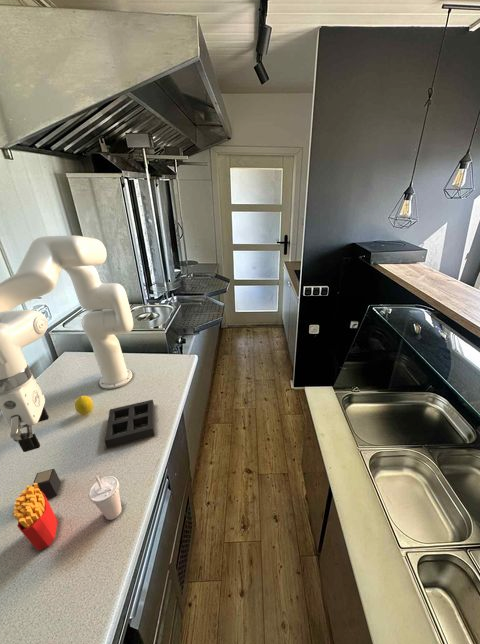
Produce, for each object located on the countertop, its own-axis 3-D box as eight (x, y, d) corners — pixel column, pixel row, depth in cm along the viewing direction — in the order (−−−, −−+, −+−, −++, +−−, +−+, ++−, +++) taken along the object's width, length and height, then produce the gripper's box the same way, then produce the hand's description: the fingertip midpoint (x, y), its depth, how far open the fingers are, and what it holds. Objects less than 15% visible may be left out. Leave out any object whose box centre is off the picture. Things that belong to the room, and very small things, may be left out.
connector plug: (44, 486, 79) (36, 472, 77) (61, 482, 80) (53, 467, 78) (39, 500, 76) (31, 486, 73) (57, 495, 77) (49, 481, 74)
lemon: (88, 420, 101) (81, 403, 98) (75, 418, 102) (67, 401, 99) (99, 409, 106) (93, 392, 102) (86, 407, 107) (80, 390, 103)
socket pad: (112, 416, 102) (109, 409, 101) (154, 406, 107) (152, 399, 105) (106, 448, 90) (104, 440, 89) (154, 436, 94) (152, 428, 93)
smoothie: (107, 499, 76) (93, 463, 70) (131, 499, 76) (119, 464, 69) (94, 525, 70) (77, 489, 64) (119, 526, 70) (105, 490, 64)
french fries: (53, 548, 66) (32, 514, 60) (31, 557, 64) (7, 524, 59) (59, 510, 73) (41, 477, 68) (40, 518, 72) (19, 485, 66)
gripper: (19, 396, 57) (48, 455, 65) (39, 354, 72) (61, 406, 79) (-29, 408, 54) (7, 468, 62) (1, 361, 69) (28, 415, 76)
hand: (37, 433), depth 70 cm, fingers open, 9 cm apart
